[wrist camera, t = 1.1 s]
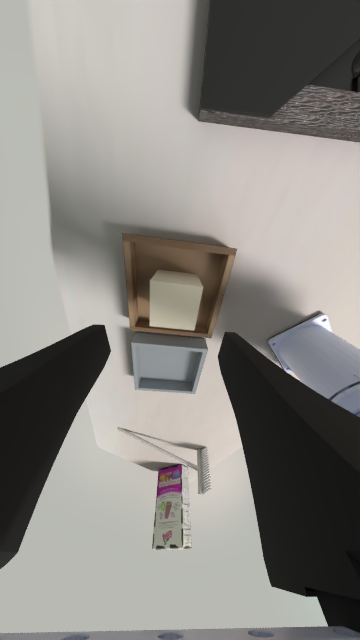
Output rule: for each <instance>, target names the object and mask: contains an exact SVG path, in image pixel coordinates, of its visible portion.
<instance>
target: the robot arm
mask: <svg viewBox="0 0 360 640" xmlns="http://www.w3.org/2000/svg"><path fill="white" fill-rule="evenodd" d="M268 343H269V345H270V346H271V348H272V350H273V351H274V353H275V355H276V356H277V358H278V360H279V361H280V363H281V365H282V366H283V368H284V370H285V371H284V370H283V369H281V368H280V367H279V366H277V365H276V364H275V363H273V362H272V361H271V360H269V359H268V358H267V357H265V356H264V355H263V354H262V353H260V352H259V351H258V350H256V349H255V348H254V347H253V346H251V345H250V344H249V343H248V342H247V341H245V340H244V339H243V338H242V337H240V336H239V335H238V334H236V333H233V332H225V333H224V337H223V340H222V344H221V347H220V351H219V354H218V360H219V366H220V370H221V374H222V377H223V380H224V383H225V386H226V389H227V392H228V395H229V398H230V401H231V404H232V407H233V410H234V413H235V417H236V420H237V424H238V429H239V433H240V437H241V441H242V445H243V450H244V454H245V459H246V464H247V468H248V473H249V478H250V483H251V488H252V494H253V498H254V504H255V510H256V515H257V521H258V527H259V532H260V538H261V544H262V550H263V557H264V561H265V564H266V569H267V573H268V576H269V580H270V583H271V586H272V587H276V588H279V589H282V590H286V591H289V592H292V593H296V594H300V595H303V596H306V597H308V596H309V597H314V596H315V597H316V596H317V598H318V600H319V603H320V606H321V608H322V611H323V614H324V616H325V619H326V621H327V624H328V627H289V628H288V627H283V628H238V629H237V628H236V629H192V630H191V629H189V630H143V631H98V632H97V631H95V632H48V633H2V634H1V633H0V640H360V349H358V348H356V347H355V346H353V345H352V344H350V343H348V342H347V341H345V340H343V339H342V338H340V337H338V336H337V335H335V334H334V333H332V330H331V326H330V323H329V319H328V316H327V315H326V314H324V313H322V314H320V315H318V316H315V317H313V318H311V319H309V320H307V321H305V322H303V323H301V324H299V325H297V326H295V327H293V328H291V329H289V330H287V331H285V332H283V333H281V334H279V335H277V336H275V337H273V338H271V339H269V340H268ZM110 352H111V350H110V345H109V341H108V337H107V333H106V329H105V325H92V326H89V327H87V328H85V329H83V330H80V331H78V332H76V333H74V334H72V335H70V336H68V337H66V338H64V339H62V340H60V341H58V342H56V343H55V344H52V345H50V346H48V347H46V348H44V349H41V350H40V351H37V352H35V353H33V354H31V355H29V356H26V357H24V358H22V359H20V360H17V361H15V362H13V363H10V364H8V365H6V366H3V367H1V368H0V569H1V568H2V567H4V566H5V565H6V564H7V563H8V562H9V561H10V560H11V559H12V558H13V557H14V556H15V555H16V554H17V552H18V550H19V548H20V545H21V542H22V539H23V537H24V534H25V531H26V529H27V527H28V524H29V522H30V519H31V517H32V514H33V511H34V509H35V506H36V504H37V501H38V498H39V496H40V494H41V491H42V489H43V487H44V484H45V482H46V480H47V477H48V475H49V473H50V470H51V468H52V466H53V463H54V461H55V459H56V457H57V455H58V452H59V450H60V448H61V446H62V443H63V441H64V439H65V437H66V435H67V433H68V431H69V429H70V427H71V424H72V422H73V420H74V418H75V416H76V414H77V412H78V410H79V409H80V407H81V405H82V403H83V402H84V400H85V398H86V397H87V395H88V393H89V392H90V390H91V388H92V387H93V385H94V383H95V382H96V380H97V378H98V377H99V375H100V373H101V372H102V370H103V368H104V366H105V364H106V362H107V360H108V357H109V355H110ZM292 372H294V373H295V375H296V376H297V377H298V378H299V379H300V380H301V382H300V381H299V380H297V379H296V378H294V377H293V376H291V375H290V374H288V373H292Z"/></svg>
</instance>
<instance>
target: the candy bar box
mask: <svg viewBox="0 0 360 640" xmlns="http://www.w3.org/2000/svg"><path fill="white" fill-rule="evenodd" d="M188 548H191V527H190V505H189V481H188V467H187V466H184V465H182V464H180V465H175V466H171V467H167V468H163V469H159V474H158V486H157V497H156V510H155V522H154V534H153V547H152V549H154V550H171V549H188Z"/></svg>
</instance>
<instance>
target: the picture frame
mask: <svg viewBox="0 0 360 640" xmlns="http://www.w3.org/2000/svg"><path fill="white" fill-rule="evenodd" d="M199 121H201V122H208V123H216V124H224V125H231V126H239V127H247V128H254V129H262V130H270V131H277V132H285V133H292V134H300V135H308V136H315V137H323V138H331V139H338V140H346V141H354V142H360V0H210V6H209V16H208V27H207V37H206V48H205V58H204V69H203V79H202V90H201V100H200V111H199Z"/></svg>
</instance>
